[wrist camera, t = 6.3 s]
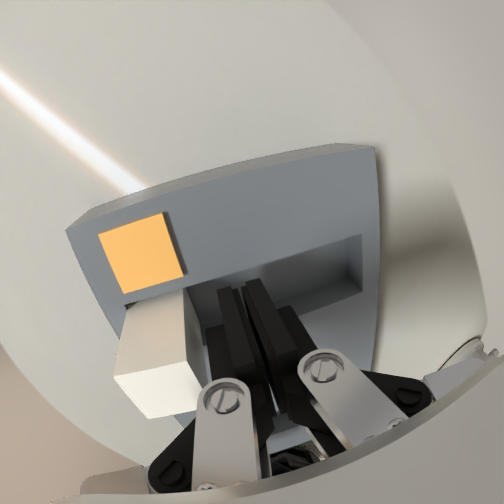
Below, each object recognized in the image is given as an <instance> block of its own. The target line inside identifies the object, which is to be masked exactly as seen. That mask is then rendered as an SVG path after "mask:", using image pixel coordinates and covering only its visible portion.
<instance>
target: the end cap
mask: <svg viewBox="0 0 504 504" xmlns="http://www.w3.org/2000/svg"><path fill="white" fill-rule="evenodd" d="M270 462H271V470H272V477H273V476H276V475H280V474H284V473H287V472H290V471H293V470H297V469H300V468H303V467H306V466H309V465H311V464H314V463H317V462H320V460H319V459H318V457H317V456H315V455H314V454H313V453H312V452H310V451H306V450H305V449H304V448H302V447H299V446H293V447H290V448H288V449H284V450H281V451H278V452H275V453H272V454H270Z"/></svg>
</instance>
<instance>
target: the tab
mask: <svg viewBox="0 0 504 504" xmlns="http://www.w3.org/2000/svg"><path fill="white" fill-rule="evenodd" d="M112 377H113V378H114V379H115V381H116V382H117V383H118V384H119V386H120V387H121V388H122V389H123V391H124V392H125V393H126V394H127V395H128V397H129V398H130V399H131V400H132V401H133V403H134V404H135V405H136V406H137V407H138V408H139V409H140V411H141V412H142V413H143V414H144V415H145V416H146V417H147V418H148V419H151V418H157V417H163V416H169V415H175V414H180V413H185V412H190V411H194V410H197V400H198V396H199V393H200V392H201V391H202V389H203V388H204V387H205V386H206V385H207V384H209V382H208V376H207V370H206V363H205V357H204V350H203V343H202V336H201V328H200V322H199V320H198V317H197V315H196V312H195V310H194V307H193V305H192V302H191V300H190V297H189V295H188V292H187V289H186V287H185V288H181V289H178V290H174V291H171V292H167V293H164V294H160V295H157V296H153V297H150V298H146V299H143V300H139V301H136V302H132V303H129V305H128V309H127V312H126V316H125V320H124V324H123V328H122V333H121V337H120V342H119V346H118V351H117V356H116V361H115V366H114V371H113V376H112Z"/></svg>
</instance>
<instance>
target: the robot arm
mask: <svg viewBox="0 0 504 504" xmlns="http://www.w3.org/2000/svg"><path fill="white" fill-rule="evenodd" d="M245 284H246V286H242V287H241V291H242V295H243V299H244V303H245V307H246V311H247V314H246V311H245V308H244V305H243V302H242V300H241V297H240V294H239V291H238V288H235V289H232V288H231V286H228V287H224V288H220V289H217V295H218V300H219V304H220V309H221V314H222V318H223V323H224V324H221V325H217V326H214V327H210V328H206V329H205V334H206V342H207V350H208V357H209V364H210V371H211V378H212V382H211V383H209V384H207V385H206V386H205V387H204V388H203V389H202V391H201V392H200V393H199V396H198V400H197V410H196V417H195V418H194V419H193V420H192V422H191V423H190V424H189V425H188V426H187V427H186V428H185V429H184V430H183V431H182V432H181V433H180V434H179V435H178V436H177V437H176V438H175V440H174V441H173V442H172V443H171V444H170V445H169V446H168V447H167V448H166V449H165V450H164V451H163V452H162V453H161V454H160V455H159V456H158V457H157V458H156V459H155V460H154V461H153V462H152V464H151V465H150V466H147V467H143V466H142V465H140V466H136V467H132V468H128V469H124V470H119V471H115V472H109V473H104V474H99V475H93V476H90V477H88V478H86V479H85V480H84V481H83V483H82V485H81V487H80V495H73V496H68V497H63V498H61V499H57V500H54V501H52V502H50V503H48V504H504V355H502V356H500V357H498V358H497V356H498V353H499V352H498V350H497V349H493V350H492V351H491V352H490V353H489V355H487V354H486V353H485V352H483V347H484V345H483V342H482V341H480V340H479V339H473V340H471V341H470V342H468V343H467V344H465V345H464V346H463V347H462V348H460V349H459V350H458V351H457V352H456V353H455V354H454V355H453V356H452V357H451V358H450V359H449V360H448V361H447V362H446V364H445V365H444V366H443V367H442V368H441V369H440V370H439V371H436V372H433V373H431V374H428V375H425V376H424V378H423V379H422V380H416V379H413V378H406V377H400V376H393V375H387V374H382V373H376V372H370V371H365V370H360V369H358V368H357V367H356V366H355V365H354V364H353V363H352V362H351V361H350V360H349V359H348V358H347V357H346V356H345V355H344V354H342V353H341V352H339V351H336V350H334V349H318V348H317V347H316V345H315V343H314V342H313V340H312V338H311V337H310V335H309V334H308V332H307V330H306V329H305V327H304V326H303V324H302V322H301V321H300V319H299V317H298V316H297V314H296V313H295V311H294V309H293V308H292V307H291V305H288V306H285V307H281V308H278V309H276V307H275V306H274V304H273V302H272V300H271V298H270V296H269V294H268V292H267V290H266V289H265V287H264V285H263V283H262V281H261V279H260V278H257V279H253V280H250V281H246V282H245ZM247 315H248V317H247ZM269 385H270V386H269ZM270 388H271V390H272V393H273V396H274V398H275V401H276V404H277V406H278V409H279V412H280V414H281V415H282V414H285V413H287V416H288V418H289V421H291V420H292V422H293V423H295V424H298V425H302V426H304V428H305V430H306V432H307V433H308V435H309V436H310V438H311V439H312V441H313V442H314V444H315V445H316V446H317V448H318V449H319V451H320V452H321V453H322V455H323V456H324V458H325V460H322V461H320V462H317V463H314V464H311V465H309V466H306V467H303V468H300V469H297V470H293V471H290V472H287V473H284V474H280V475H276V476H273V477H272V470H271V462H270V454H269V446H268V441H267V439H268V438H269V436H270V435H271V433H272V432H273V430H274V429H275V427H274V424H273V420H272V418H273V417H276V416H277V413H276V409H275V405H274V401H273V397H272V394H271V390H270Z"/></svg>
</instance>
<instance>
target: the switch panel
mask: <svg viewBox="0 0 504 504" xmlns="http://www.w3.org/2000/svg"><path fill="white" fill-rule="evenodd" d="M65 231H66V234H67V236H68V239H69V241H70V243H71V246H72V248H73V251H74V253H75V255H76V258H77V260H78V262H79V264H80V266H81V269H82V271H83V273H84V275H85V277H86V279H87V281H88V283H89V285H90V287H91V289H92V291H93V293H94V295H95V297H96V299H97V301H98V303H99V305H100V307H101V309H102V310H103V312H104V314H105V316H106V318H107V319H108V321H109V323H110V325H111V326H112V328H113V330H114V331H115V333H116V335H117V336H118V338H119V340H120V337H121V333H122V328H123V324H124V320H125V316H126V312H127V309H128V305H129V303H132V302H136V301H139V300H143V299H146V298H150V297H153V296H157V295H160V294H164V293H167V292H171V291H174V290H178V289H181V288H185V287H186V289H187V292H188V295H189V297H190V300H191V302H192V305H193V307H194V310H195V312H196V315H197V317H198V320H199V322H200V328H201V336H202V343H203V350H204V357H205V363H206V370H207V376H208V382H209V383H211V382H212V378H211V371H210V364H209V357H208V350H207V342H206V334H205V329H206V328H210V327H214V326H217V325H221V324H224V323H223V318H222V314H221V309H220V304H219V300H218V295H217V289H220V288H224V287H228V286H231V288H232V289H235V288H238V291H239V294H240V297H241V300H242V302H243V305H244V308H245V311H246V307H245V303H244V299H243V295H242V291H241V287H242V286H246V284H245V282H246V281H250V280H253V279H257V278H260V279H261V281H262V283H263V285H264V287H265V289H266V290H267V292H268V294H269V296H270V298H271V300H272V302H273V304H274V306H275V307H276V309H278V308H281V307H285V306H288V305H291V307H292V308H293V309H294V311H295V313H296V314H297V316H298V317H299V319H300V321H301V322H302V324H303V326H304V327H305V329H306V330H307V332H308V334H309V335H310V337H311V338H312V340H313V342H314V343H315V345H316V347H317V348H318V349H334V350H336V351H339V352H341V353H342V354H344V355H345V356H346V357H347V358H348V359H349V360H350V361H351V362H352V363H353V364H354V365H355V366H356V367H357V368H358V369H360V370H365V371H371V364H372V357H373V349H374V341H375V332H376V322H377V311H378V296H379V276H380V214H379V194H378V180H377V168H376V158H375V149H374V147H370V146H361V145H352V144H340V143H335V144H329V145H323V146H317V147H311V148H305V149H300V150H294V151H289V152H284V153H279V154H274V155H270V156H265V157H260V158H256V159H252V160H247V161H243V162H239V163H235V164H231V165H227V166H223V167H219V168H215V169H211V170H208V171H204V172H200V173H197V174H193V175H190V176H186V177H183V178H180V179H176V180H173V181H170V182H166V183H163V184H160V185H157V186H154V187H151V188H148V189H145V190H142V191H139V192H136V193H133V194H130V195H127V196H124V197H122V198H119V199H116V200H113V201H111V202H108V203H105V204H103V205H100V206H97V207H95V208H92V209H90V210H89V211H87V212H86V213H85V214H84V215H82V216H81V217H80V218H79V219H78V220H76V221H75V222H74V223H73V224H72V225H71V226H69V227H68V228H67V229H66V230H65ZM246 314H247V311H246ZM247 317H248V315H247ZM269 386H270V385H269ZM270 390H271V388H270ZM271 394H272V397H273V401H274V405H275V409H276V413H277V416H276V417H273V418H272V420H273V424H274V427H275V429H274V430H273V432H272V433H271V435H270V436H269V438H268V439H267V441H268V446H269V454H272V453H275V452H278V451H281V450H284V449H288V448H290V447H293V446H296V445H299V444H302V443H305V442H307V441H310V440H312V439H311V438H310V436H309V435H308V433H307V432H306V430H305V428H304V426H302V425H298V424H295V423H293V422H292V420H291V421H289V418H288V416H287V413H285V414H282V415H281V414H280V412H279V409H278V406H277V404H276V401H275V398H274V396H273V393H272V390H271ZM173 416H174V417H175V418H176V419H177V420H178V422H179V423H180V424H181V425H182V426H183V428H184V429H185V428H186V427H187V426H188V425H189V424H190V423H191V422H192V420H193V419H194V418H195V417H196V410H194V411H190V412H185V413H180V414H175V415H173Z"/></svg>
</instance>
